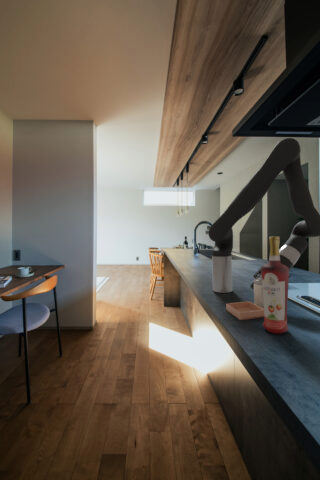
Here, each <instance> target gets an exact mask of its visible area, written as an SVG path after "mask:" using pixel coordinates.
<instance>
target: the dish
mask: <svg viewBox="0 0 320 480" xmlns="http://www.w3.org/2000/svg"><path fill="white" fill-rule="evenodd" d="M225 306H226V309H225V310H226V311H227V313H229V314H231V315H232V316H233V317H235V318H236V319H237V320H239V321H246V320H252V319H262V318H263V319H264V309H263V308H261V307H259V306H257V305H255V304H254V302H252V301H249V300H248V301H240V302H229V303H225Z"/></svg>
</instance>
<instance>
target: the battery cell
mask: <svg viewBox="0 0 320 480" xmlns="http://www.w3.org/2000/svg"><path fill="white" fill-rule="evenodd" d="M253 282H254V290H253V303H254V304H255V305H257V306H259V307H261V308H263V309H264V303H263V290H262V278H258V279H255V278H254V279H253Z"/></svg>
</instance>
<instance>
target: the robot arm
mask: <svg viewBox="0 0 320 480" xmlns="http://www.w3.org/2000/svg"><path fill="white" fill-rule="evenodd" d="M301 151H302V150H301V145H300V142H299V141H298V140H297V139H295V138H293V137H287V138H283V139H281V140H280V141H278V142H277V143H276V145H275V146H274V147H273V149H272V150H271V152H270V154H268V157H267V158H266V160H264V162H263V164H262V166H261V167H260V168H259V169H258V170H257V171H256V172H255V173H254V174H253V175H252V177H250V179H249V180H248V181H247V183H246V184H245V185H244V186H243V187H242V188H241V189H240V191H239V192H238V193H237V195H236V196H235V198H234V199H233V200H232V201H231V202H230V204H229V205H228V207H227V208H226V209H225V210H224V212H223V213H222V214H221V215H220V216H219V217H218V218H217V219H216V220H215V221H214V222H213V223H212V224H211V226H210V227H209V229H208V237H209V239H210V240H211V241H213V242H214V246H213V248H212V250H211V264H212V265H211V266H212V267H211V269H212V271H211V272H212V273H211V275H212V278H211V279H212V291H213V292H216V293H219V294H220V293H222V294H227V293H231V292H233V267H232V266H233V264H232V263H233V262H232V261H233V260H232V258H233V257H232V253H233V248H234V232H233V227H234V226H235V224H236V223H238V222H239V221H240V220H241V219H242V218H244V217H245V216H247V214H249V213H250V212H251V211H252V210H253V209H254V208H256V207H257V205H258V204H259V203H260V202H261V200H262V199H263V198H264V197H265V196H266V194H267V193H268V191H269V190H270V188H271V187H272V184H273V183H274V182H275V179H277V177H278V176H279V175H280V174H281V173H283V175H284V178H285V182H286V185H287V191H288V196H289V200H290V203H291V208H292V210H293V213H294V215H296V216H300V217H302V219H303V220H301V221H299V222H297V223H296V224H295V225H294V226H293V229H292V231H291V232H290V236H289V238H288V239H287V240H286V241H285V242H284V243H283V245H282V246H281V247H279V254H280V263H281V264H283V265H285V266H287V267H288V268H289V272H290V271H291V269H293V267H294V265H296V263H297V262H298V260H299V258H300V257H301V255H302V254H303V253H304V252H305V251H306V250H307V248H308V245H309V243H308V241H307V239H308V238H318V237H320V213H319V212H318V210H317V209H316V207H315V205H314V201H313V198H312V195H311V192H310V191H311V190H310V189H309V187H308V183H307V181H306V178H305V175H304V172H303V169H302V163H301V162H302V161H301ZM252 277H253V278H254V279H258V278H261V279H262V274H261V267H260V268H259V269H258V270H257V271H256V272H255V273H254V274H253V276H252ZM290 278H291V275H289V279H290ZM250 288H251V289H252V290H253V291H254V281H253V282H252V283H251V284H250Z"/></svg>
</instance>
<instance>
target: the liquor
mask: <svg viewBox="0 0 320 480" xmlns="http://www.w3.org/2000/svg"><path fill="white" fill-rule="evenodd" d="M280 241H281V240H280V236H269V242H268V243H269V249H270V250H269V259H268V263H265V264H263V265H261V267H260V268H261V274H262V278H261V279H262V290H263V303H264V317H263V320H264V321H263V323H262V327H264V329H265V330H267V332H269V333H271V334H274V335H282V334H284V333H286V332H287V331H289V329H290V328H289V326H288V298H289V296H288V295H289V283H290V282H289V280H290V278H289V276H290V271H289V268H288V267H287V266H285V265H283V264H281V263H280V254H279V249H280Z"/></svg>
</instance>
